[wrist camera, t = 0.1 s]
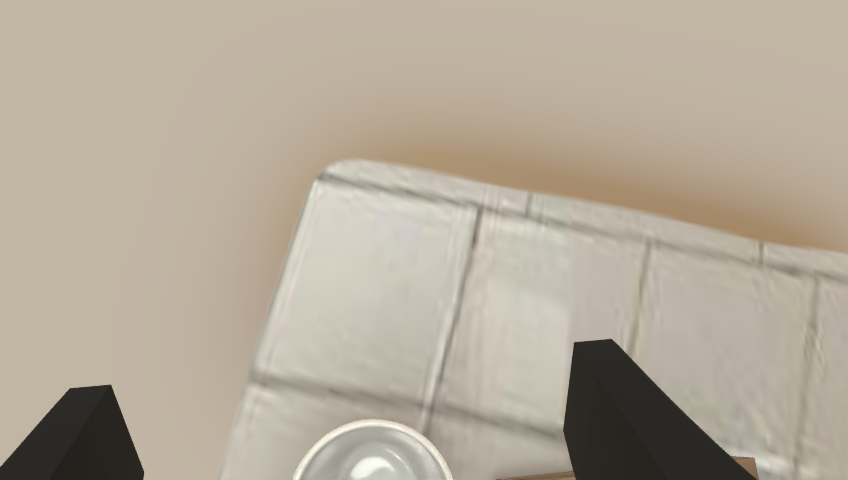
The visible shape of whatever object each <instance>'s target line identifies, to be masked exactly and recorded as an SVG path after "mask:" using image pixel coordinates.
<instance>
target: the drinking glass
mask: <svg viewBox="0 0 848 480" xmlns="http://www.w3.org/2000/svg"><path fill="white" fill-rule="evenodd" d="M292 480H454V479H453V477H452V474H451V471H450V469H449V467H448V465H447V463H446V461H445V460H444V458H443V456H442V455H441V454H440V452H439V451H438V450H437V448H436V447H435V446H434V445H433V444H432V443H431V442H430V441H429V440H428V439H427V438H426V437H425V436H424V435H422V434H421V433H420V432H418V431H417V430H415V429H413V428H412V427H410V426H407V425H405V424H403V423H400V422H397V421H393V420H389V419H382V418H368V419H361V420H356V421H352V422H349V423H346V424H344V425H342V426H340V427H337V428H335V429H334V430H332V431H331V432H329V433H328V434H326V435H325V436H324V437H322V438H321V439H320V440H319V441H318V442H316V443H315V444H314V445H313V446H312V447H311V449H310V450H309V451H308V452H307V453H306V455H305V456H304V457H303V459H302V460H301V462H300V464H299V465H298V467H297V469H296V471H295V473H294V476H293V478H292Z"/></svg>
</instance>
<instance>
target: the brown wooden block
mask: <svg viewBox="0 0 848 480" xmlns="http://www.w3.org/2000/svg"><path fill="white" fill-rule="evenodd" d="M731 457H732V458H733V459H734V460H735V461H736V462H737V463H739V464H740V465H741V466H742V467H743V468H744V469H745V470H747V471H748V472H749V473H750V474H751V475H752V476H754V477H755V478H756V479H757V480H759V478H758V473H757V468H756V463H755V458H750V457H734V456H731ZM498 480H576V478H575V475H574V471H573V472H563V473H554V474H545V475H535V476H526V477H517V478H507V479H498Z"/></svg>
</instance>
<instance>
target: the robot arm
mask: <svg viewBox="0 0 848 480" xmlns="http://www.w3.org/2000/svg"><path fill="white" fill-rule="evenodd" d="M563 431H564V435H565V439H566V443H567V447H568V451H569V455H570V460H571V464H572V467H573V471H574V475H575V478H576V480H757V479H756V478H755V477H754V476H752V475H751V474H750V473H749V472H748V471H747V470H745V469H744V468H743V467H742V466H741V465H740V464H739V463H737V462H736V461H735V460H734V459H733V458H732V457H731V456H730V455H729V454H727V453H726V452H725V451H724V450H723V449H722V448H721V447H720V446H719V445H718V444H717V443H715V442H714V441H713V440H712V439H711V438H710V437H709V436H708V435H707V434H706V433H705V432H704V431H703V430H702V429H701V428H700V427H699V426H698V425H696V424H695V423H694V422H693V421H692V420H691V419H690V418H689V417H688V416H687V415H686V414H685V413H684V412H683V411H682V410H681V409H680V408H679V407H678V406H677V405H676V404H675V403H674V402H673V401H672V400H671V399H670V398H669V397H668V396H667V395H666V394H665V393H664V392H663V391H662V390H661V389H660V388H659V387H658V386H657V385H656V384H655V383H654V382H653V381H652V380H651V379H650V378H649V377H648V376H647V375H646V374H645V373H644V372H643V370H642V369H641V368H640V367H639V366H638V365H637V364H636V363H635V362H634V361H633V360H632V359H631V358H630V357H629V356H628V355H627V354H626V353H625V352H624V351H623V350H622V349H621V348H620V346H619V345H618V344H617V343H615V342H614V341H613V340H612V339H606V340H595V341H584V342H574V348H573V356H572V364H571V372H570V380H569V388H568V396H567V404H566V412H565V420H564V428H563ZM143 477H144V471H143V468H142V465H141V462H140V460H139V458H138V455H137V452H136V449H135V447H134V444H133V441H132V439H131V436H130V434H129V431H128V429H127V426H126V423H125V420H124V418H123V415H122V413H121V410H120V407H119V405H118V402H117V399H116V397H115V394H114V391H113V389H112V386H111V385H102V386H91V387H80V388H70V389H69V390H68V391H67V392H66V393H65V395H64V396H63V397H62V398H61V399H60V400H59V401H58V402H57V403H56V404H55V406H54V407H53V408H52V409H51V410H50V411H49V412H48V413H47V414H46V416H45V417H44V418H43V419H42V420H41V421H40V423H39V424H38V425H37V426H36V427H35V428H34V430H33V431H32V432H31V433H30V434H29V435H28V436H27V437H26V438H25V440H24V441H23V442H22V443H21V444H20V445H19V447H18V448H17V449H16V450H15V451H14V452H13V453H12V454H11V456H10V457H9V458H8V459H7V460H6V461H5V462H4V464H3V465H2V466H1V467H0V480H143Z"/></svg>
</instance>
